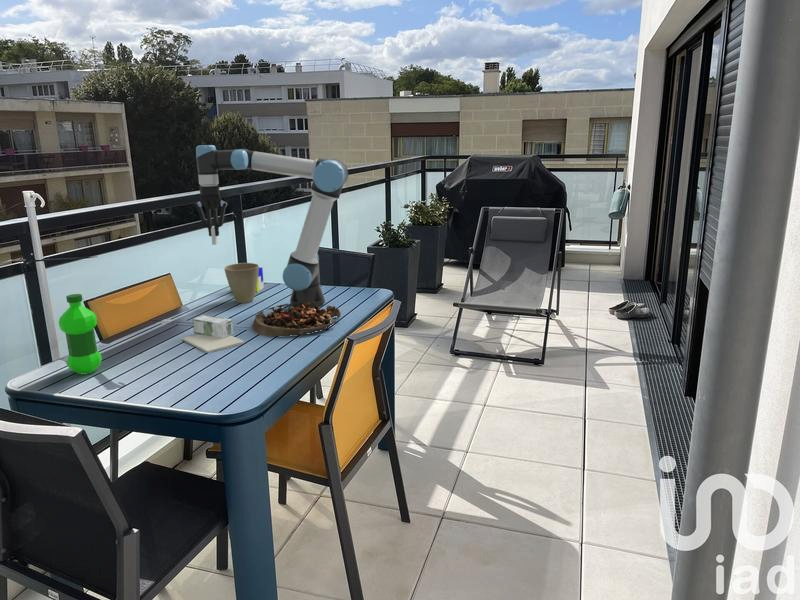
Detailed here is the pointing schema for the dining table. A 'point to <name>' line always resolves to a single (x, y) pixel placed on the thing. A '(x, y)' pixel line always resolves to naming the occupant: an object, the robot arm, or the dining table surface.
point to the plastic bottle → (80, 336)
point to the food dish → (294, 320)
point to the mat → (212, 342)
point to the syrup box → (213, 326)
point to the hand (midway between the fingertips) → (214, 244)
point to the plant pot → (242, 280)
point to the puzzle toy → (260, 280)
